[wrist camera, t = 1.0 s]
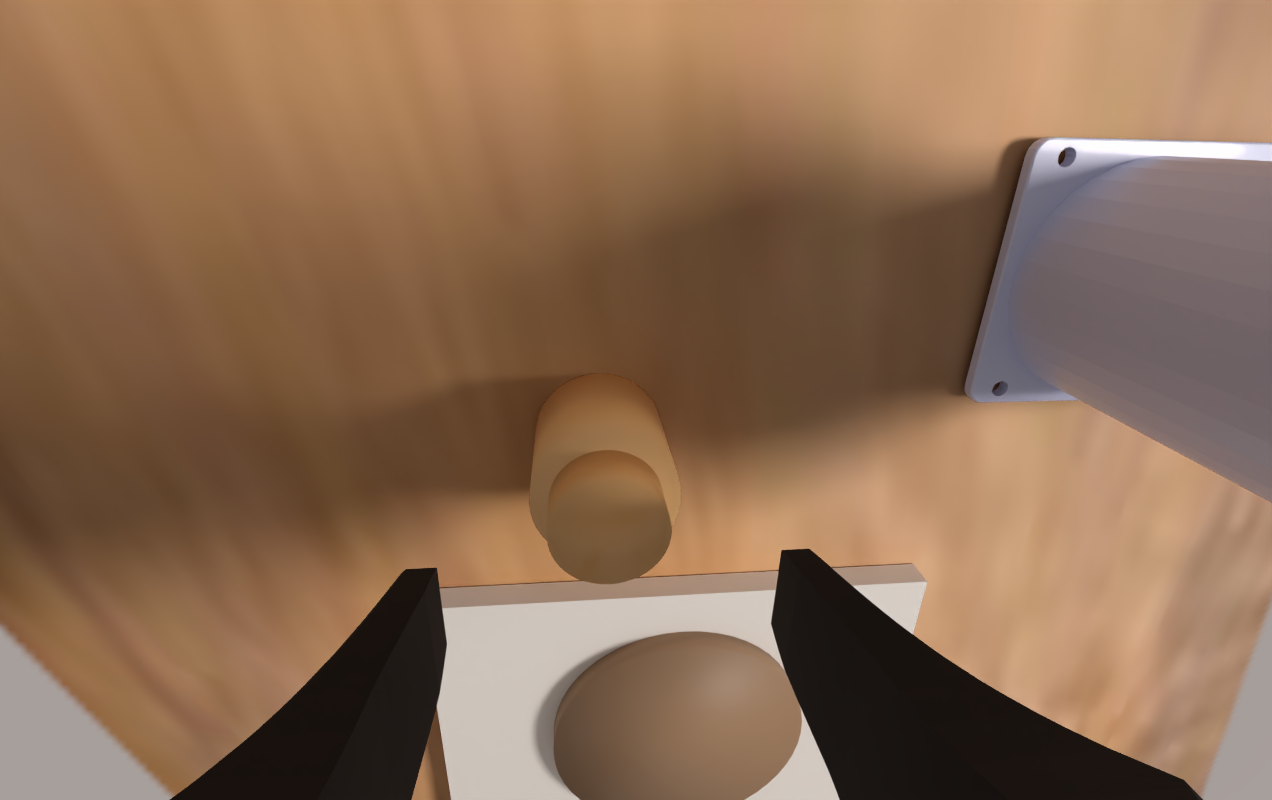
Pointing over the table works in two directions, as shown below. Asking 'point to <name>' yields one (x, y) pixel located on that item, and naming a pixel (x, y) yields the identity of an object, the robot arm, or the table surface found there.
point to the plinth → (634, 689)
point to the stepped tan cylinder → (603, 480)
